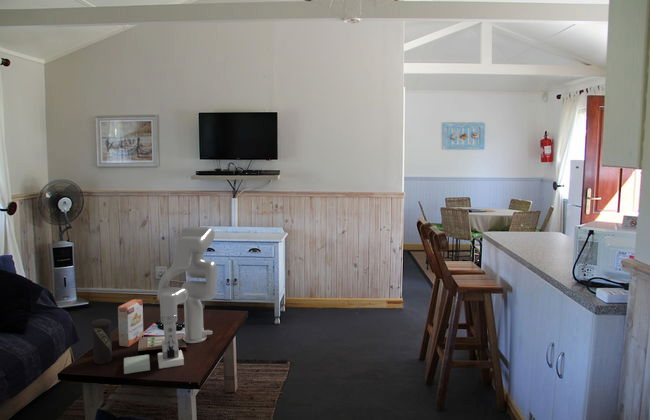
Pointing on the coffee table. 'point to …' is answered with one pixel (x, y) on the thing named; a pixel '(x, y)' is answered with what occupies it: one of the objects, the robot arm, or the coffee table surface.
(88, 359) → the coffee table surface
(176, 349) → the housing
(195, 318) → the robot arm
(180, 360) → the stand
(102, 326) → the container
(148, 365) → the stand
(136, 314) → the cracker box
